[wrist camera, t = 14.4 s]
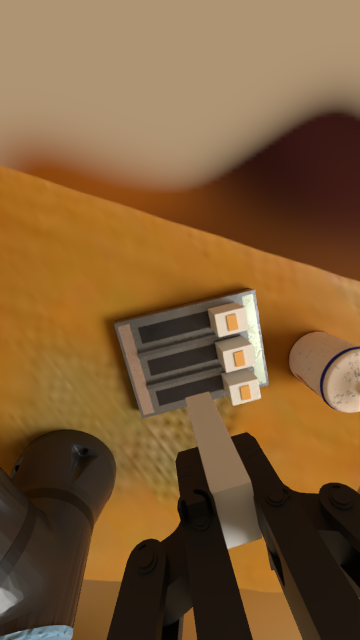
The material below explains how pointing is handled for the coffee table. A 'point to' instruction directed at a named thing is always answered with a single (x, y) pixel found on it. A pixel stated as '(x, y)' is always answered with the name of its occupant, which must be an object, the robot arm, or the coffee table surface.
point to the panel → (183, 352)
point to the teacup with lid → (328, 369)
